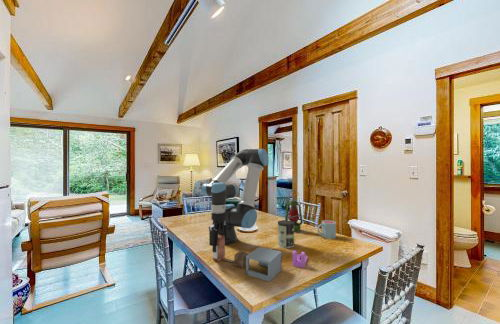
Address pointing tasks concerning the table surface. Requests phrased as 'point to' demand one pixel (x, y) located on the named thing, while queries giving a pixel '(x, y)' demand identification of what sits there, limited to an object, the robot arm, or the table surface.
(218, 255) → the reddish brown block
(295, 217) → the lantern
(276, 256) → the box
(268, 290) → the table surface
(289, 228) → the coffee can
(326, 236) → the mug
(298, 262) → the bracket
